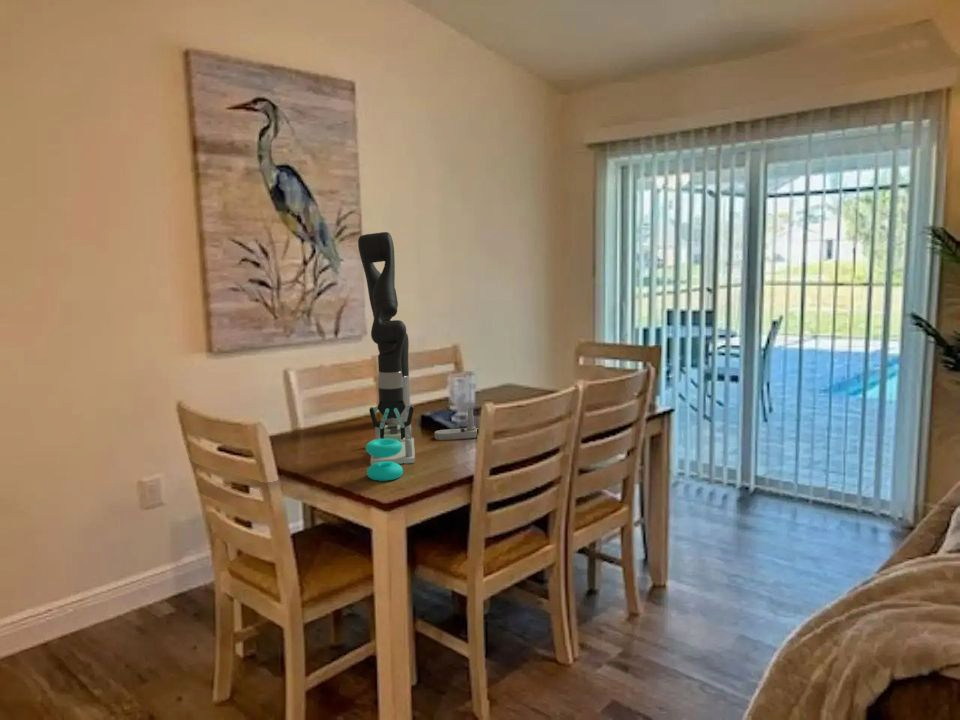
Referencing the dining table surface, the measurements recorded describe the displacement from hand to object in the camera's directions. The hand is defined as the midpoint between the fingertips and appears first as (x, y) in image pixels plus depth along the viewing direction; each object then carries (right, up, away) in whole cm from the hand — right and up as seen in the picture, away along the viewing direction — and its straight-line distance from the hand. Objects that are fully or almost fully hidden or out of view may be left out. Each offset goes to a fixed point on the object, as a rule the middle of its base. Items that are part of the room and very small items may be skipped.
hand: (392, 439), depth 232 cm
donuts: (+1, -8, -23) cm, 25 cm away
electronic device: (+19, -2, +18) cm, 27 cm away
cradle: (0, -4, +1) cm, 4 cm away
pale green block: (0, -1, 0) cm, 1 cm away
